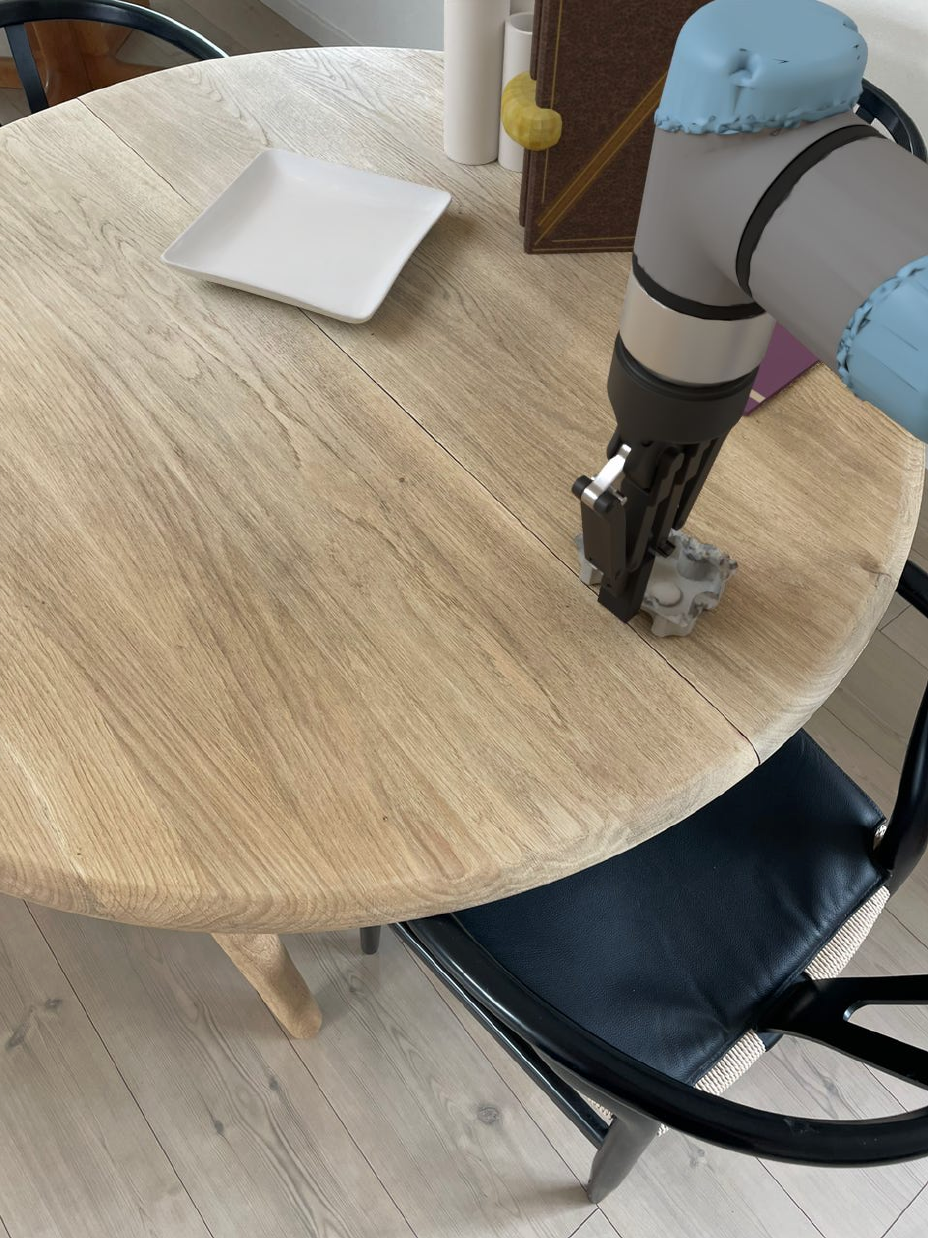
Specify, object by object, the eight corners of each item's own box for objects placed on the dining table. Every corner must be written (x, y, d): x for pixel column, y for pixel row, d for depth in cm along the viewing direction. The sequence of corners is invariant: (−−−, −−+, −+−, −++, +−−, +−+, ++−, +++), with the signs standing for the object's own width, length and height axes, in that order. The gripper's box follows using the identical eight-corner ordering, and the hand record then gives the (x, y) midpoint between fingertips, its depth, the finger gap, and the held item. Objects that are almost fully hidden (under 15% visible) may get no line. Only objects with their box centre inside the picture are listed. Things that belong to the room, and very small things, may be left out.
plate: (456, 219, 98) (457, 188, 96) (369, 349, 87) (367, 317, 84) (269, 172, 103) (265, 141, 100) (163, 290, 91) (154, 258, 88)
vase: (437, 161, 104) (437, -50, 88) (451, 125, 108) (453, -82, 92) (541, 175, 103) (560, -36, 87) (551, 139, 107) (571, -69, 91)
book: (702, 205, 101) (770, -73, 80) (720, 255, 96) (797, -26, 75) (490, 210, 100) (504, -71, 79) (498, 261, 95) (514, -24, 74)
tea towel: (828, 355, 88) (831, 349, 87) (745, 417, 83) (748, 410, 83) (725, 291, 93) (726, 285, 92) (641, 346, 88) (642, 340, 88)
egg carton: (733, 598, 72) (747, 565, 69) (667, 656, 69) (680, 624, 66) (625, 516, 77) (634, 481, 73) (560, 567, 74) (566, 533, 70)
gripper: (712, 257, 54) (638, 530, 73) (549, 360, 49) (516, 624, 68) (824, 323, 51) (716, 589, 70) (663, 441, 46) (594, 693, 65)
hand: (617, 606), depth 69 cm, fingers closed
